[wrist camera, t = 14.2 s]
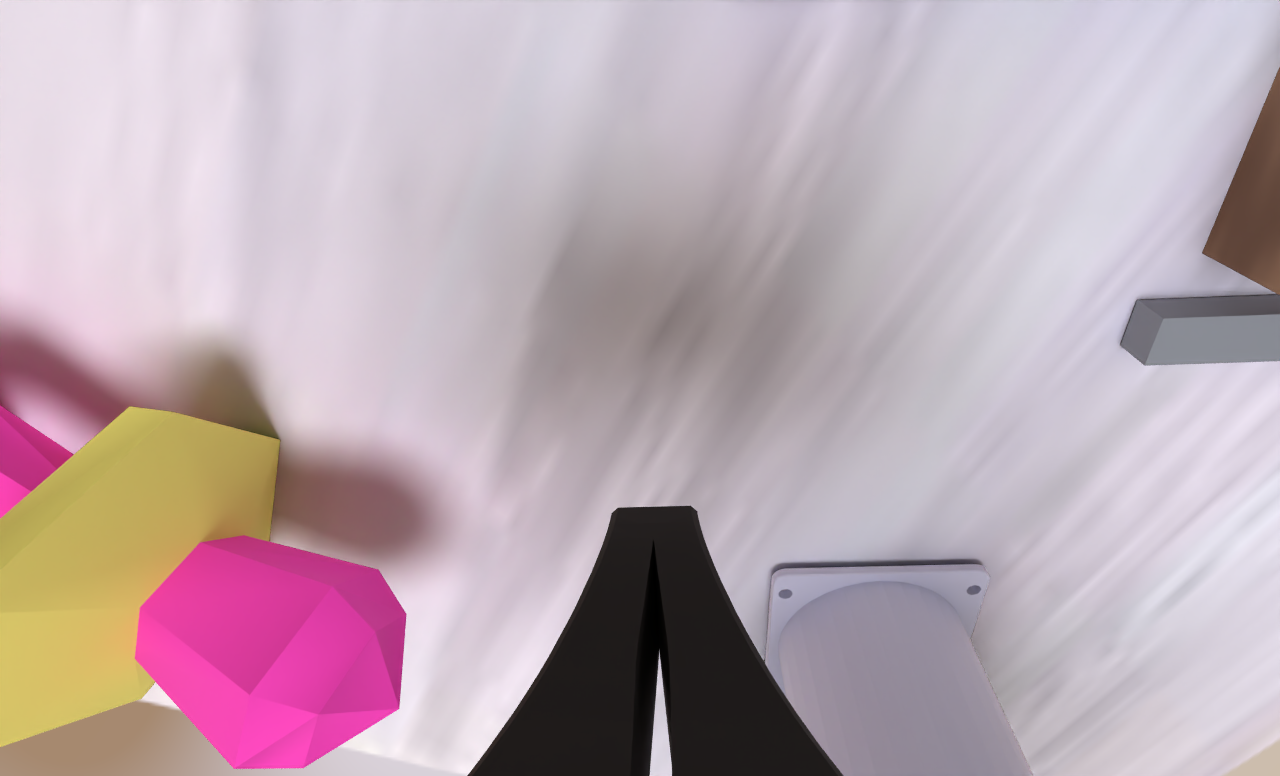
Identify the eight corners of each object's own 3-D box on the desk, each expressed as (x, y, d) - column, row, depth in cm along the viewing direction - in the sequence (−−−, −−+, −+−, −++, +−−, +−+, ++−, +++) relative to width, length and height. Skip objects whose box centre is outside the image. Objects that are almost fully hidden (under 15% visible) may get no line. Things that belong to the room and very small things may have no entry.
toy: (-46, 204, 20) (-550, 489, 14) (500, 489, 18) (200, 944, 12) (107, 392, 28) (-168, 622, 22) (491, 599, 26) (309, 904, 21)
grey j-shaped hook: (1431, 334, 20) (1543, 388, 18) (721, 359, 21) (731, 414, 19) (1768, -190, 14) (2019, -223, 11) (729, -126, 15) (746, -142, 12)
